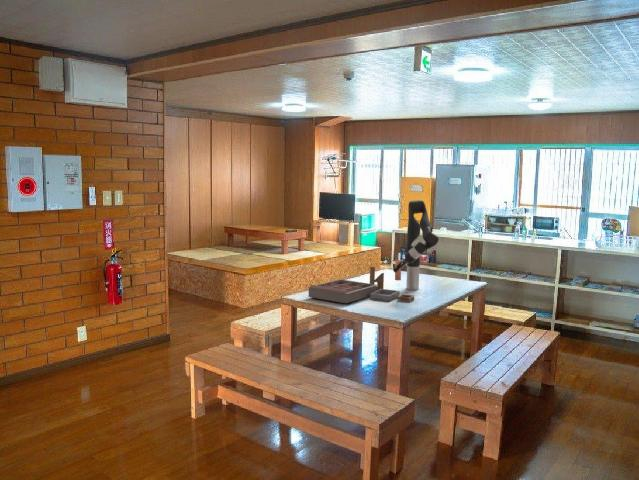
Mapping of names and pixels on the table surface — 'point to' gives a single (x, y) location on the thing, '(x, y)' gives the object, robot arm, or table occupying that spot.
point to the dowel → (398, 273)
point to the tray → (384, 295)
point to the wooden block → (379, 279)
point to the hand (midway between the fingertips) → (395, 270)
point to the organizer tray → (341, 291)
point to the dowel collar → (406, 298)
